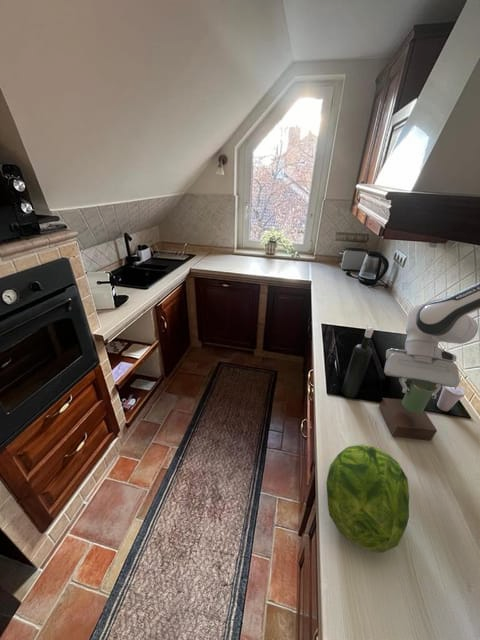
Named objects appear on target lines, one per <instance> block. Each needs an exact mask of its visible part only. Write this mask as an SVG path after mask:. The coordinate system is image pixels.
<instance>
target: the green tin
mask: <svg viewBox="0 0 480 640" xmlns="http://www.w3.org/2000/svg"><path fill="white" fill-rule="evenodd" d="M408 388H410V393H409V394H407V393H404V396H403V398H402V399H401V400H402V405H403V406H404V407H405V408H406V409H407V410H408V411H410V412H413V413H417V414H419V413H422V412H423V410H424V411H425V408H426V406H427V404H428V403H429V401H430V399H431V398H430V397H431V396H432V394H433V392H434V391H435V389H436V386H435V385H434V383H432V382H430V381H425V380H419V379H414V378H413V379H412V380H410V384H409V386H408Z"/></svg>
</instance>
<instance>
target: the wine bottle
mask: <svg viewBox="0 0 480 640" xmlns="http://www.w3.org/2000/svg"><path fill="white" fill-rule="evenodd" d="M374 330H375V328H374V327H373V326H368V325H367V326H366V329H365V332H364V336H363V339H362V343H359V344H357V345H355V346H354V347H353V350H352V354H351V358H350V361H349V363H348V367H347V371H346V373H345V377H344V380H343V383H342V386H341V390H340V391H341V394H342V395H343V396H344V397H345V398H347V399H355V398H357V396H358V394H359V391H360V388H361V386H362V383H363V380H364V377H365V375H366V371H367V369H368V366H369V363H370V360H371V356H372V355H373V349H372V348H371V347H370V346H369V344H370V342H371V338H372V337H373V333H374Z"/></svg>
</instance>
